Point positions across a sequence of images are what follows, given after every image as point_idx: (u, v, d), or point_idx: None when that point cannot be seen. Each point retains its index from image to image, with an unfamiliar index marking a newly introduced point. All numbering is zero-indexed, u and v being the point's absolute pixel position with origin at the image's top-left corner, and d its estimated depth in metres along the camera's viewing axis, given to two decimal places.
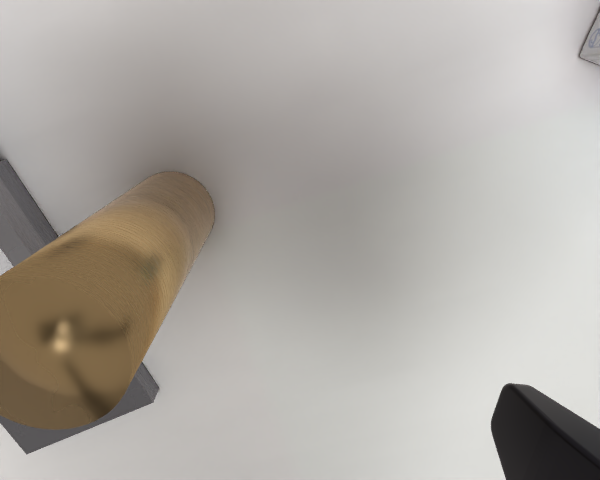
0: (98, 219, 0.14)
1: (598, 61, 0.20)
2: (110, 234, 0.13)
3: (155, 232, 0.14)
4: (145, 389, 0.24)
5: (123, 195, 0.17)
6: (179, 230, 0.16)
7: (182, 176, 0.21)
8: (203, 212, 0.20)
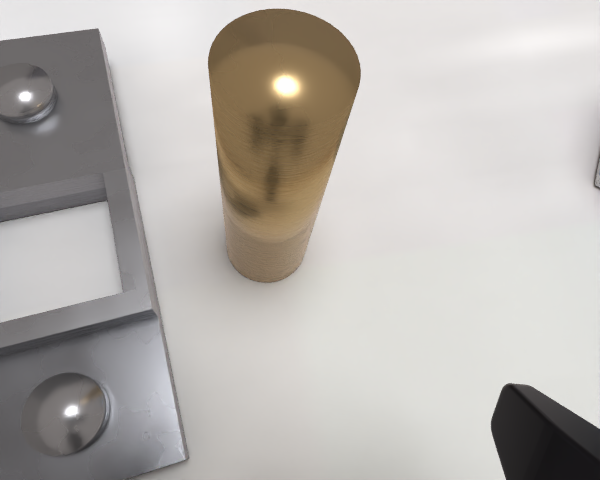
0: None
1: None
2: None
3: None
4: (181, 437, 0.18)
5: None
6: None
7: None
8: None
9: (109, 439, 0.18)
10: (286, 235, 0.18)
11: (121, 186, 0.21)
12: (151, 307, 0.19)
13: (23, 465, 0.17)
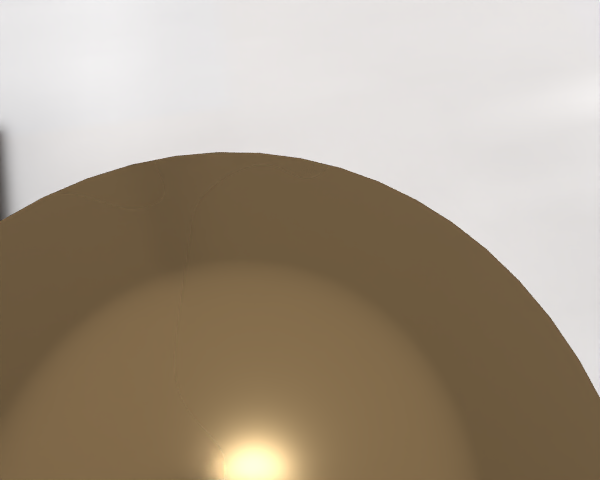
0: None
1: None
2: None
3: None
4: None
5: None
6: None
7: None
8: None
9: None
10: None
11: None
12: None
13: None
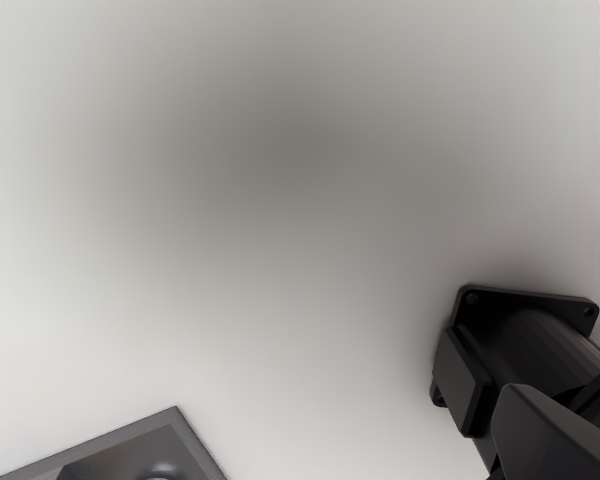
0: None
1: None
2: None
3: None
4: (155, 427, 0.22)
5: None
6: None
7: None
8: None
9: (169, 473, 0.23)
10: None
11: None
12: None
13: None
